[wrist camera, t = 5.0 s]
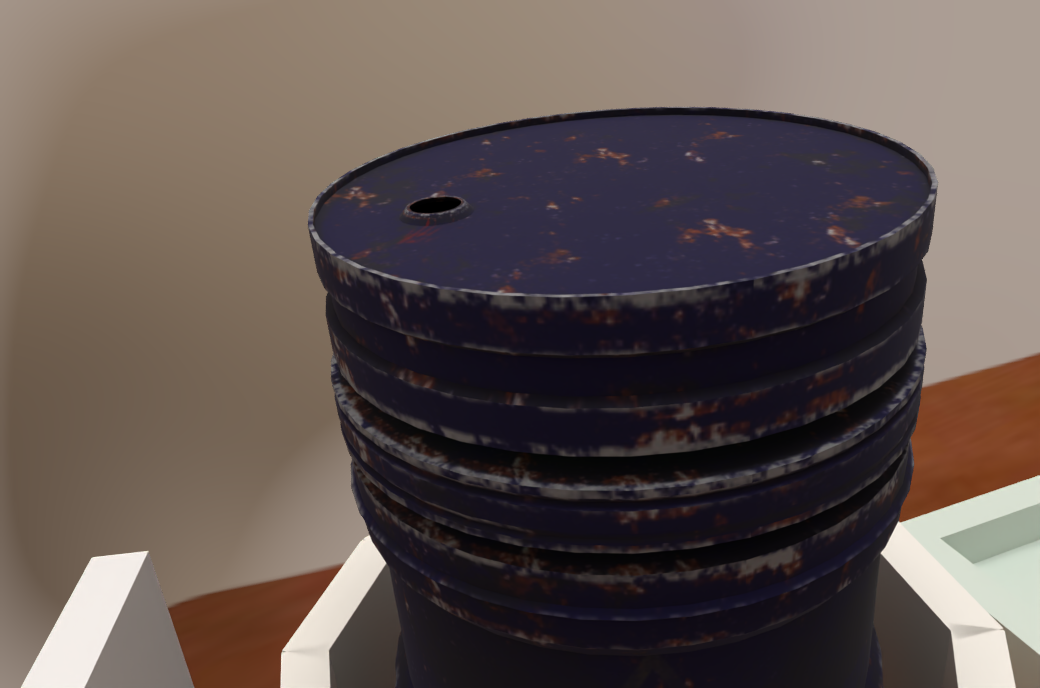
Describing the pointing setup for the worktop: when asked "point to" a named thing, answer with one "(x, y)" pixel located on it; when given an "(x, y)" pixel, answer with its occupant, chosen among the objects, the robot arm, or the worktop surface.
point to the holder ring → (897, 620)
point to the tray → (995, 563)
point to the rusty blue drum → (631, 392)
